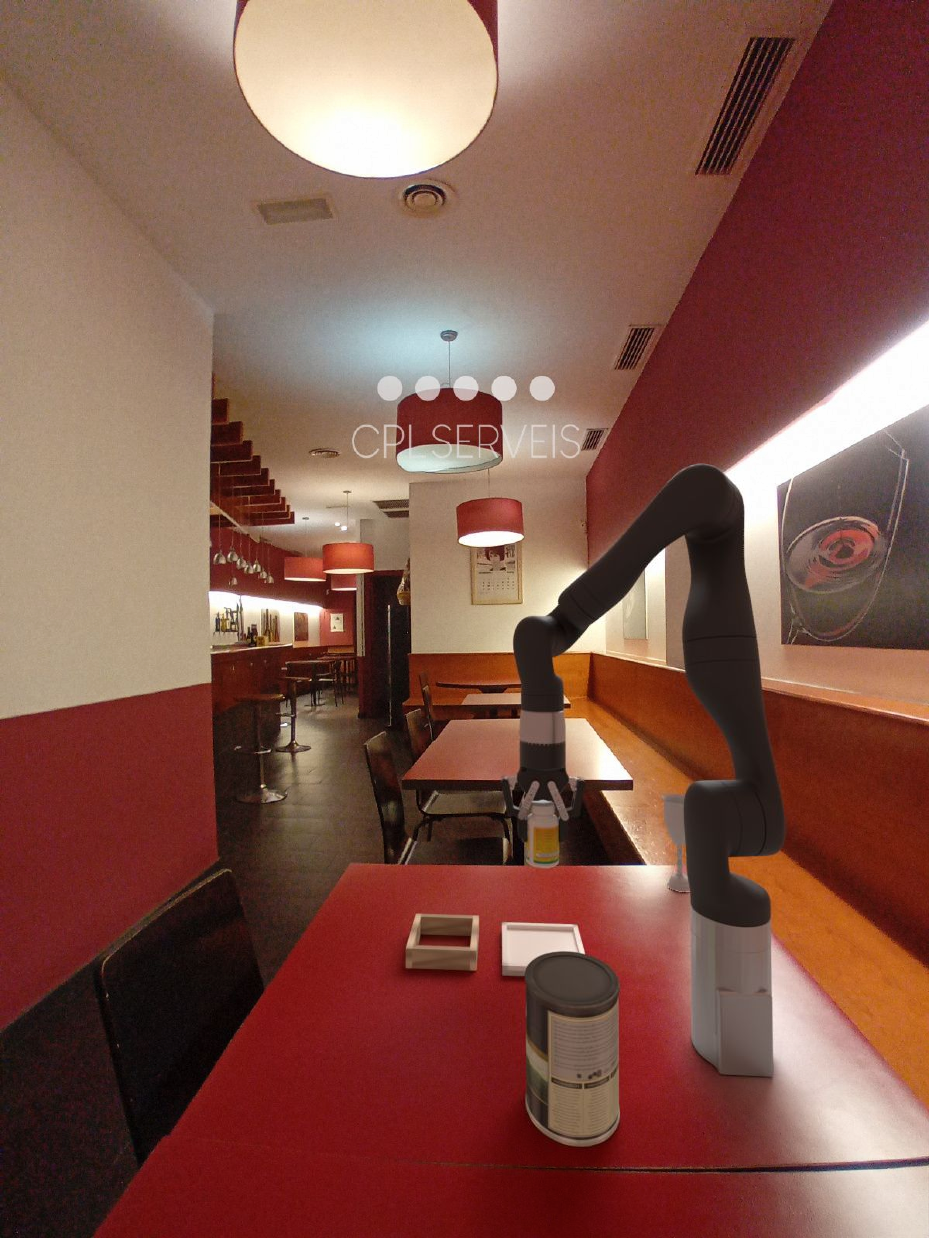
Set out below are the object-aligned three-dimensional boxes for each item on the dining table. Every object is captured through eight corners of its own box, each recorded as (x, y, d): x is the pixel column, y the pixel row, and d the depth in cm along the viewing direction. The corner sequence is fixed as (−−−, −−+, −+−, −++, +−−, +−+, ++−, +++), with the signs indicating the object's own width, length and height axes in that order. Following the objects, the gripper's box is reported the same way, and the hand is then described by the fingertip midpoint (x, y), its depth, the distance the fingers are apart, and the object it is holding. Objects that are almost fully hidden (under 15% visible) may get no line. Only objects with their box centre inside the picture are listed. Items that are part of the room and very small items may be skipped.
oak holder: (476, 970, 88) (476, 950, 88) (405, 967, 88) (405, 948, 88) (478, 933, 99) (478, 915, 99) (416, 930, 99) (416, 913, 99)
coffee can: (506, 1111, 62) (506, 979, 62) (555, 1057, 70) (554, 940, 70) (593, 1168, 55) (592, 1020, 56) (636, 1100, 63) (635, 972, 64)
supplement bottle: (519, 861, 93) (519, 802, 94) (541, 853, 97) (541, 796, 97) (543, 871, 89) (543, 810, 89) (566, 863, 93) (565, 803, 93)
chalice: (703, 895, 113) (702, 804, 113) (669, 895, 113) (668, 803, 114) (689, 879, 120) (689, 793, 121) (657, 879, 120) (656, 793, 121)
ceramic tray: (588, 978, 86) (588, 968, 86) (502, 975, 86) (502, 965, 86) (577, 933, 99) (577, 924, 99) (502, 930, 99) (502, 922, 99)
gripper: (498, 741, 90) (498, 848, 90) (590, 742, 89) (590, 851, 89) (498, 732, 98) (498, 832, 97) (583, 733, 97) (583, 834, 96)
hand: (542, 840), depth 93 cm, fingers closed on supplement bottle, 5 cm apart
